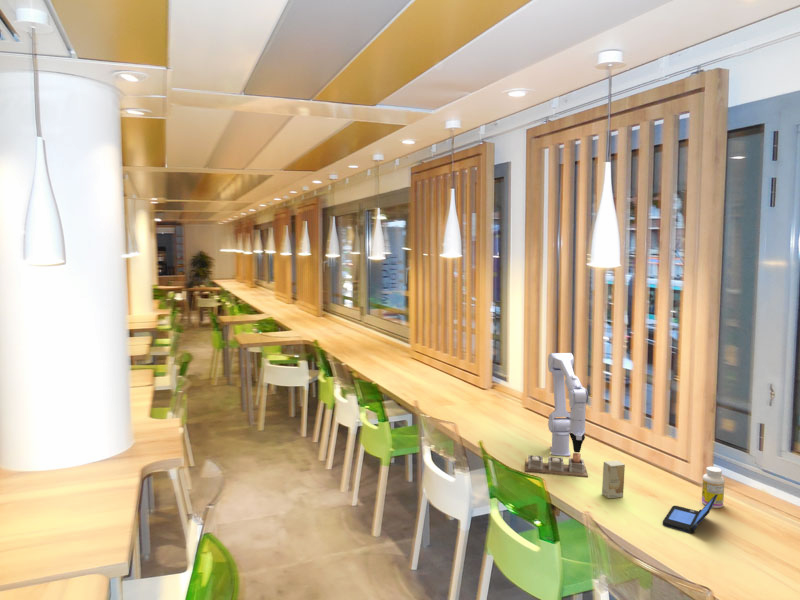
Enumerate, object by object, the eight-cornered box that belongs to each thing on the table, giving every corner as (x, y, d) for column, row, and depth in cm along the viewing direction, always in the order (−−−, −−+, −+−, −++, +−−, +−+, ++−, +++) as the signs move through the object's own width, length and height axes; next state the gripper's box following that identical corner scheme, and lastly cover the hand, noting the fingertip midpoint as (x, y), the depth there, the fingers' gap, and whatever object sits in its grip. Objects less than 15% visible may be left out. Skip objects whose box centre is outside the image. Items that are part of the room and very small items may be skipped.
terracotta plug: (572, 460, 226) (572, 452, 226) (580, 461, 225) (580, 453, 225) (572, 463, 223) (573, 455, 223) (580, 464, 222) (581, 455, 222)
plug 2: (551, 465, 228) (551, 457, 228) (559, 466, 227) (559, 458, 227) (552, 468, 225) (552, 460, 225) (559, 469, 224) (559, 460, 224)
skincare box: (608, 499, 200) (610, 466, 199) (601, 494, 204) (602, 461, 203) (624, 497, 201) (625, 464, 200) (616, 491, 206) (617, 459, 204)
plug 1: (531, 464, 230) (531, 456, 229) (539, 464, 229) (539, 456, 229) (531, 466, 227) (531, 458, 226) (539, 467, 226) (539, 459, 226)
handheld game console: (673, 508, 193) (674, 482, 192) (716, 520, 185) (718, 493, 184) (661, 526, 181) (662, 498, 180) (707, 539, 172) (709, 510, 172)
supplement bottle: (703, 498, 200) (705, 463, 199) (724, 503, 196) (726, 468, 195) (699, 505, 195) (701, 469, 194) (721, 510, 191) (723, 474, 190)
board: (525, 462, 234) (525, 452, 233) (585, 467, 228) (585, 457, 228) (525, 472, 224) (525, 461, 223) (588, 477, 219) (588, 466, 218)
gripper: (565, 412, 230) (565, 444, 232) (568, 423, 216) (567, 457, 217) (583, 414, 229) (582, 446, 230) (587, 424, 215) (586, 459, 216)
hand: (576, 451), depth 224 cm, fingers closed
